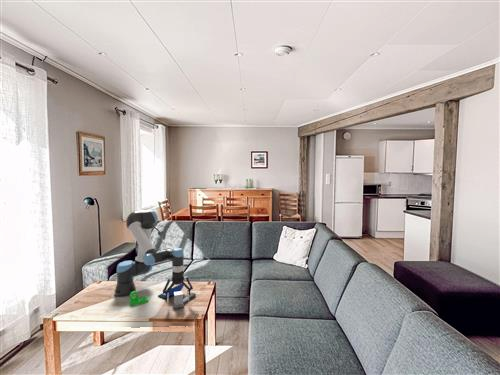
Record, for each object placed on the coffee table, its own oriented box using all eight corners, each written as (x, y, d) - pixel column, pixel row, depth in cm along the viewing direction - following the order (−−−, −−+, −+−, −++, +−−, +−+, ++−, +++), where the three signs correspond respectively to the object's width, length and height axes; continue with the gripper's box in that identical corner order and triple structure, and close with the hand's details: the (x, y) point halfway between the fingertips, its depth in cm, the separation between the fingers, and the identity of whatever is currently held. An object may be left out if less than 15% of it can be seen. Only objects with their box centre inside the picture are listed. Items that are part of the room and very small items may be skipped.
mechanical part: (131, 306, 192) (130, 295, 191) (129, 302, 197) (129, 292, 196) (149, 302, 198) (148, 291, 197) (147, 299, 203) (147, 288, 202)
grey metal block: (173, 301, 192) (173, 292, 191) (181, 300, 194) (181, 290, 193) (174, 305, 187) (174, 295, 186) (182, 304, 189) (182, 294, 188)
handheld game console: (173, 290, 219) (173, 278, 218) (185, 294, 211) (185, 282, 211) (157, 297, 206) (157, 285, 206) (168, 302, 199) (168, 289, 198)
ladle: (170, 308, 189) (170, 299, 188) (189, 295, 209) (189, 287, 208) (179, 310, 186) (178, 301, 185) (197, 297, 205) (197, 289, 205)
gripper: (159, 274, 182) (159, 306, 183) (196, 270, 190) (196, 300, 191) (158, 271, 189) (158, 301, 190) (195, 267, 197) (195, 295, 198)
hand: (178, 300), depth 190 cm, fingers open, 13 cm apart
